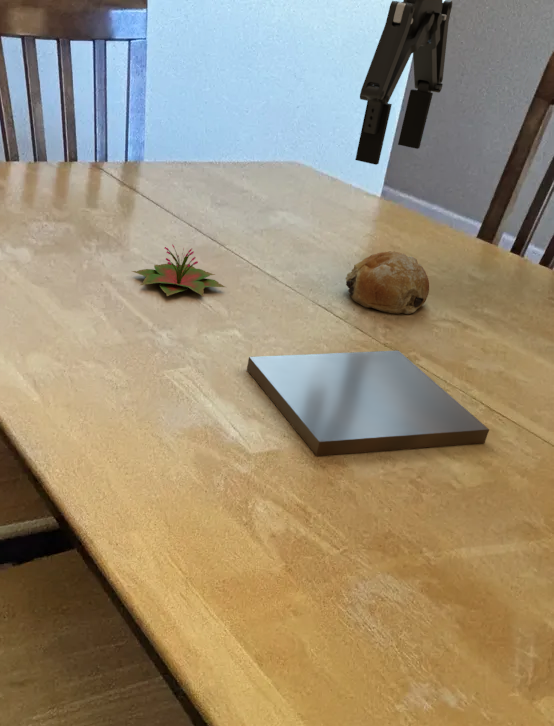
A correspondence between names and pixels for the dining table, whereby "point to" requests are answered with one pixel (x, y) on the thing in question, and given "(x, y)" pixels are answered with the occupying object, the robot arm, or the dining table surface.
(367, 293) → the bread roll
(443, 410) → the cutting board
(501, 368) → the dining table surface
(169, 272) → the lily flower
